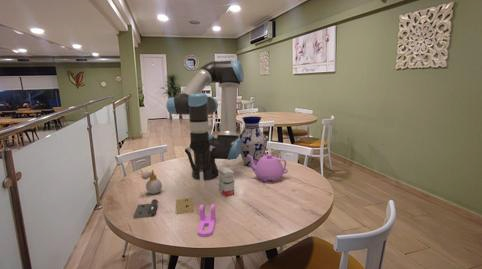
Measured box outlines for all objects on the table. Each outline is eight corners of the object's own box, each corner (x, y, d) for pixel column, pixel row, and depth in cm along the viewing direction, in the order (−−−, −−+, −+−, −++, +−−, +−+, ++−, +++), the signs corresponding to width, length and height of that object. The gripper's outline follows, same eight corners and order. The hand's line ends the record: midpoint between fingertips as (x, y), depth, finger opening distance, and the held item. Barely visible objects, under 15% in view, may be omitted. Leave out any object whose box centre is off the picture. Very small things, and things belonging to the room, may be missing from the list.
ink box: (234, 195, 131) (234, 171, 129) (225, 197, 129) (224, 172, 127) (227, 188, 139) (226, 166, 137) (218, 190, 137) (217, 167, 134)
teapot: (245, 183, 145) (245, 158, 142) (248, 173, 160) (248, 150, 158) (288, 184, 142) (288, 158, 140) (287, 174, 158) (287, 150, 155)
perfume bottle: (164, 189, 140) (162, 167, 137) (157, 197, 130) (154, 173, 128) (150, 189, 140) (148, 166, 138) (141, 197, 131) (139, 173, 129)
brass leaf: (192, 203, 125) (192, 197, 124) (193, 213, 115) (193, 206, 115) (176, 204, 123) (176, 199, 123) (176, 215, 114) (176, 209, 113)
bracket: (201, 219, 110) (200, 202, 108) (215, 218, 110) (215, 202, 108) (196, 237, 97) (195, 219, 96) (212, 237, 97) (211, 219, 96)
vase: (241, 170, 167) (239, 120, 161) (235, 161, 185) (233, 116, 179) (271, 167, 171) (271, 118, 165) (262, 158, 189) (262, 115, 183)
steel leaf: (158, 205, 122) (157, 199, 122) (155, 216, 113) (154, 209, 112) (138, 207, 121) (137, 200, 120) (133, 218, 111) (132, 211, 111)
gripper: (214, 129, 119) (216, 181, 123) (183, 130, 117) (186, 184, 121) (215, 132, 111) (218, 187, 116) (182, 133, 109) (186, 190, 114)
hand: (202, 185), depth 118 cm, fingers closed
